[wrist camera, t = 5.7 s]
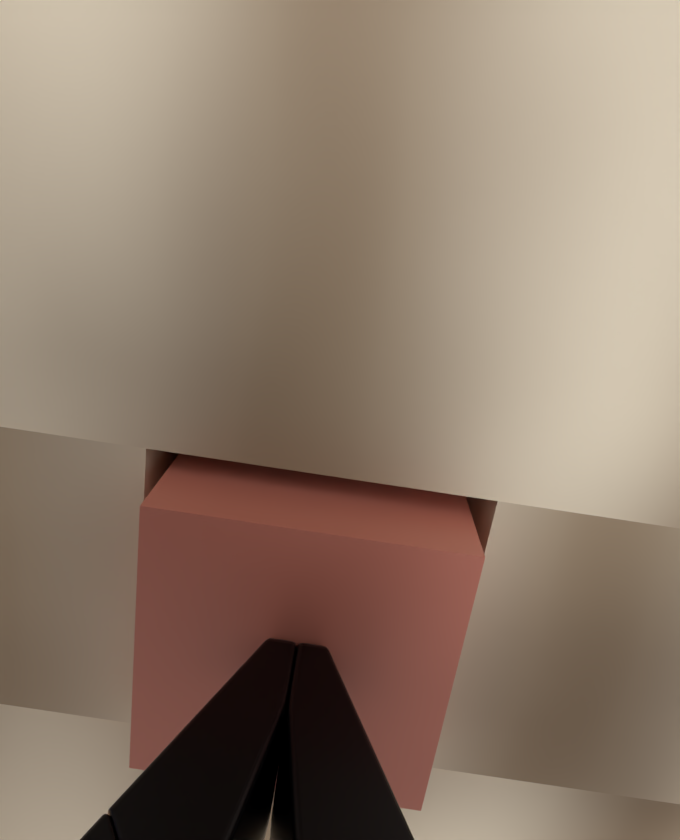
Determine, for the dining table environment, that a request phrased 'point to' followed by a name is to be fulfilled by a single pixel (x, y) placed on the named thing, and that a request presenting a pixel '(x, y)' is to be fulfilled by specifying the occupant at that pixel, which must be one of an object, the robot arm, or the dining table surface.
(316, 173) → the console
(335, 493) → the button red
